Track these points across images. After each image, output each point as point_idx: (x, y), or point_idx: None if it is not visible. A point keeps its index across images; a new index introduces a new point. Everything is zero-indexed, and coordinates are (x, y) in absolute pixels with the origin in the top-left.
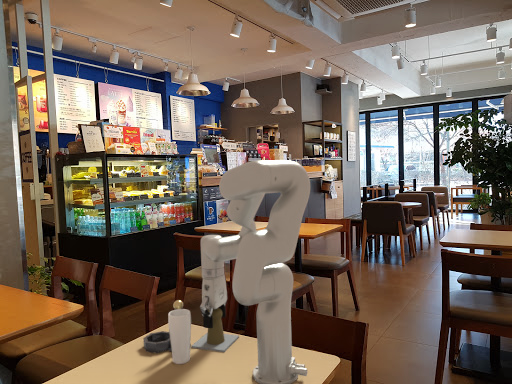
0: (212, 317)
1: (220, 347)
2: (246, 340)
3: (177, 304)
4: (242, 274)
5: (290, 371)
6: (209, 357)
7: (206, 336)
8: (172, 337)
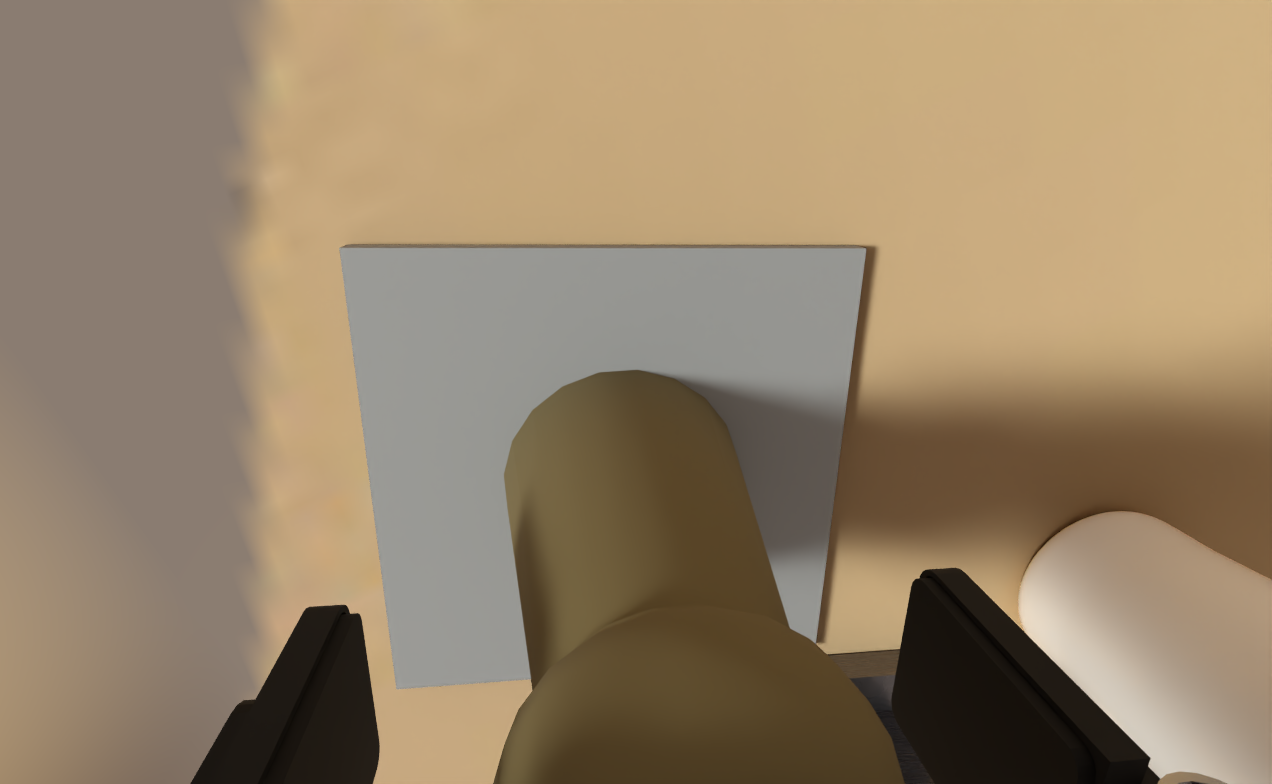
0: (1090, 726)
1: (793, 336)
2: (408, 80)
3: None
4: None
5: None
6: (998, 358)
7: None
8: None
